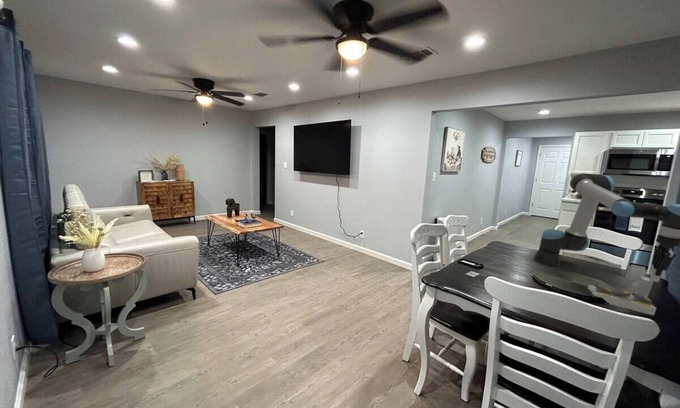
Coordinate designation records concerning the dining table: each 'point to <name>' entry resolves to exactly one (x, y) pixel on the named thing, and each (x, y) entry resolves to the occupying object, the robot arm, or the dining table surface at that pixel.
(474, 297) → the dining table surface
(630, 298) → the switch unit
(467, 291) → the dining table surface
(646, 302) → the rocker
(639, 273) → the grey box
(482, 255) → the dining table surface
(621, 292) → the rocker
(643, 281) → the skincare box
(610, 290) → the rocker
